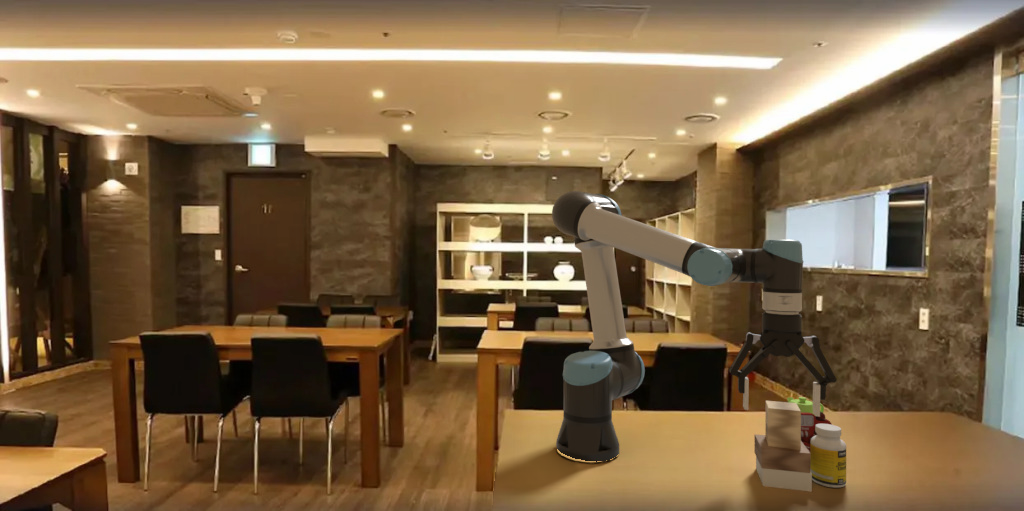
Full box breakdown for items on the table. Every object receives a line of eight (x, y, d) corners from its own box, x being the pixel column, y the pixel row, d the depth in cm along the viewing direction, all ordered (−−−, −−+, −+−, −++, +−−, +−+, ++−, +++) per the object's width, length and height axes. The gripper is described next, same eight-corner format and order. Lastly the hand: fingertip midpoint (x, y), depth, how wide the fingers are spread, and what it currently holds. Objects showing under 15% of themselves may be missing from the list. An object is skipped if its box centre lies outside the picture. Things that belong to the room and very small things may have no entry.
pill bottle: (834, 491, 106) (834, 434, 105) (803, 479, 111) (803, 424, 111) (853, 485, 109) (853, 429, 108) (822, 473, 114) (822, 420, 114)
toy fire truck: (845, 462, 120) (846, 417, 120) (790, 461, 121) (790, 416, 121) (829, 451, 127) (829, 408, 127) (777, 450, 128) (777, 407, 128)
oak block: (768, 446, 110) (768, 408, 110) (765, 436, 115) (765, 400, 115) (800, 450, 107) (800, 411, 107) (796, 440, 113) (796, 403, 113)
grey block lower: (762, 487, 108) (762, 467, 108) (756, 470, 117) (756, 452, 117) (811, 492, 106) (811, 473, 106) (801, 474, 114) (801, 456, 114)
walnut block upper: (761, 468, 108) (761, 448, 108) (754, 452, 117) (754, 434, 117) (810, 473, 106) (810, 453, 106) (799, 456, 114) (799, 438, 114)
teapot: (832, 428, 143) (832, 397, 143) (819, 438, 136) (819, 406, 135) (788, 419, 152) (788, 390, 151) (773, 428, 144) (773, 397, 144)
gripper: (720, 311, 112) (719, 410, 112) (854, 316, 104) (853, 423, 104) (717, 307, 119) (716, 400, 119) (843, 312, 111) (841, 411, 112)
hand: (780, 411), depth 112 cm, fingers open, 13 cm apart
